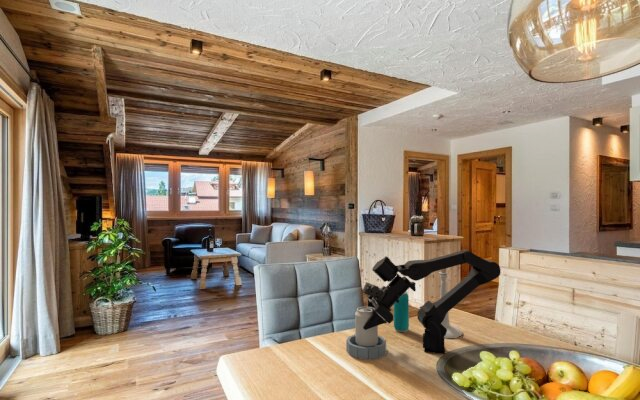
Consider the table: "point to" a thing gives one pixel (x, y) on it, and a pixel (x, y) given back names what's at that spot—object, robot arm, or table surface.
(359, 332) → the can
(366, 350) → the bowl
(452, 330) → the candlestick
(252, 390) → the table surface
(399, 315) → the beverage can
